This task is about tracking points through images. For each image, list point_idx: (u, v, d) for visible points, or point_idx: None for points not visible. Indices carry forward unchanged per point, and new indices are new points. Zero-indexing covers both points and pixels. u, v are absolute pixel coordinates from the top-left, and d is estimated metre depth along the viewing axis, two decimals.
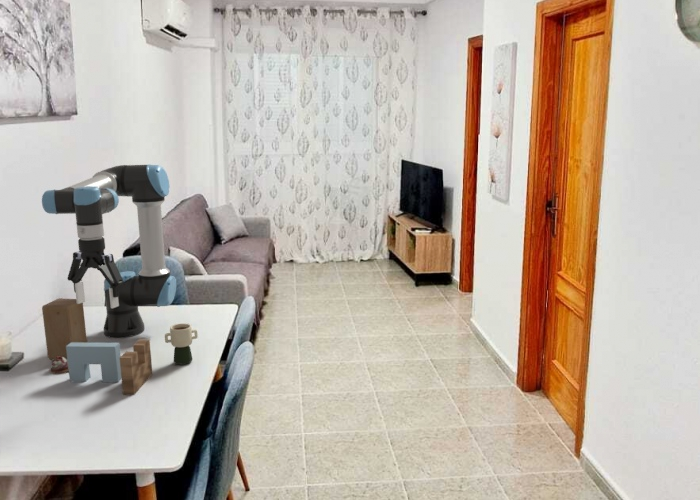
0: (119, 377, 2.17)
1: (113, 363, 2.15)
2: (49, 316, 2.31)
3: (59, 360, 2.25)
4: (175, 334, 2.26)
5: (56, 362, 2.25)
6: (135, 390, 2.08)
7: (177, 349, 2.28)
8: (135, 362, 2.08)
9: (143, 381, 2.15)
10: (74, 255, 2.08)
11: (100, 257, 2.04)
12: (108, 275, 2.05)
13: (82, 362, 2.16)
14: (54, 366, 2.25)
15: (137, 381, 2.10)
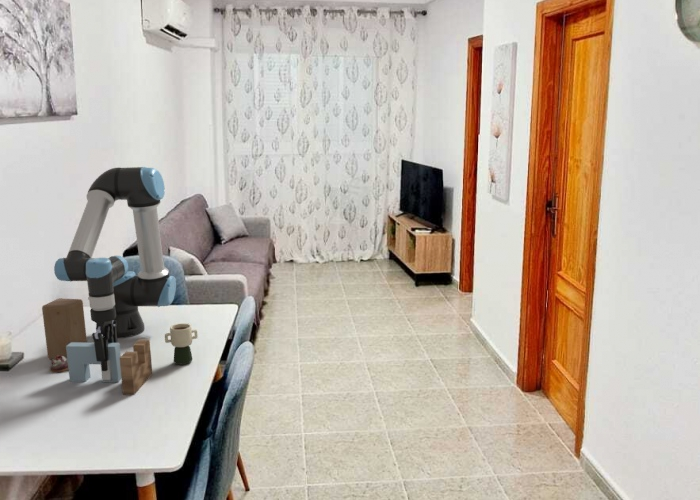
0: (119, 377, 2.17)
1: (113, 363, 2.15)
2: (49, 316, 2.31)
3: (59, 359, 2.26)
4: (175, 334, 2.26)
5: (56, 361, 2.26)
6: (135, 390, 2.08)
7: (177, 349, 2.28)
8: (135, 362, 2.08)
9: (143, 381, 2.15)
10: None
11: (96, 329, 2.11)
12: None
13: (82, 362, 2.16)
14: (54, 365, 2.26)
15: (137, 381, 2.10)
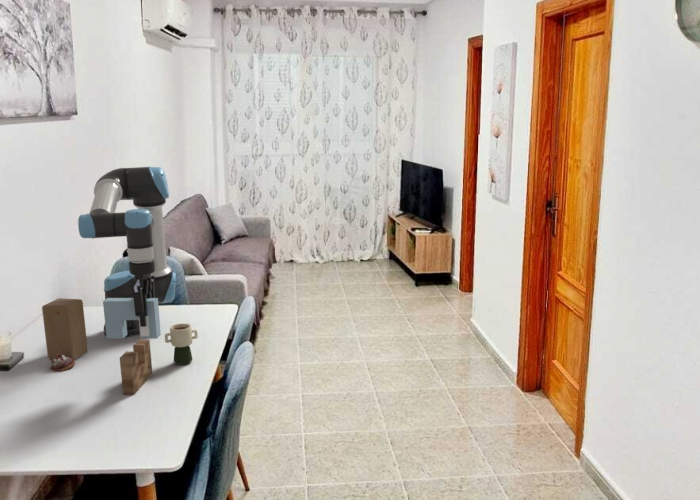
0: (157, 333, 2.10)
1: (152, 319, 2.08)
2: (49, 316, 2.31)
3: (59, 358, 2.27)
4: (175, 334, 2.26)
5: (56, 360, 2.27)
6: (135, 390, 2.08)
7: (177, 349, 2.28)
8: (135, 362, 2.08)
9: (143, 381, 2.15)
10: None
11: (135, 282, 2.03)
12: None
13: (119, 318, 2.08)
14: (54, 364, 2.27)
15: (137, 381, 2.10)
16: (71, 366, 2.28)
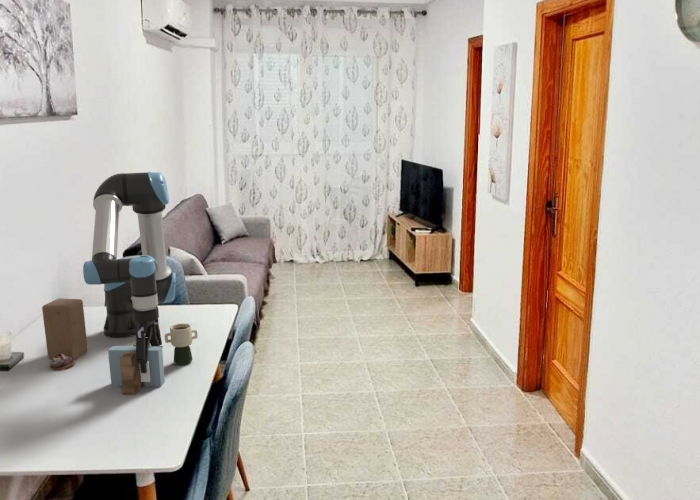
0: (162, 381, 2.13)
1: (156, 367, 2.11)
2: (50, 316, 2.31)
3: (58, 357, 2.28)
4: (175, 334, 2.26)
5: (55, 359, 2.28)
6: (135, 390, 2.08)
7: (177, 349, 2.28)
8: (135, 362, 2.08)
9: None
10: None
11: (139, 329, 2.06)
12: None
13: None
14: (53, 363, 2.28)
15: (137, 381, 2.10)
16: (71, 365, 2.29)
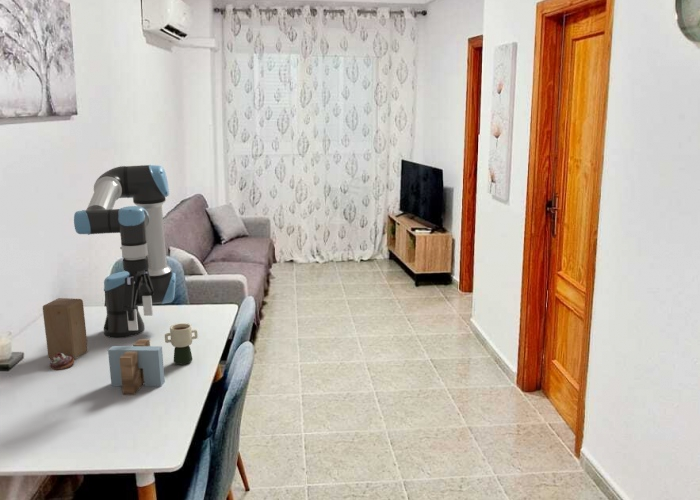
0: (162, 381, 2.13)
1: (156, 367, 2.11)
2: (50, 316, 2.32)
3: (58, 356, 2.28)
4: (175, 334, 2.26)
5: (55, 358, 2.28)
6: (135, 390, 2.08)
7: (177, 349, 2.28)
8: (135, 362, 2.08)
9: (143, 381, 2.15)
10: None
11: None
12: None
13: None
14: (53, 362, 2.28)
15: (137, 381, 2.10)
16: (70, 365, 2.29)
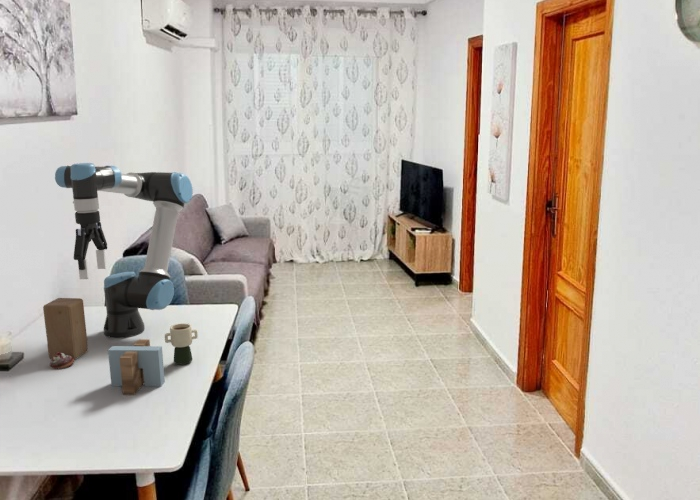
0: (162, 381, 2.13)
1: (156, 367, 2.11)
2: (51, 316, 2.32)
3: (58, 356, 2.29)
4: (175, 334, 2.26)
5: (55, 358, 2.29)
6: (135, 390, 2.08)
7: (177, 349, 2.28)
8: (135, 362, 2.08)
9: (143, 381, 2.15)
10: None
11: None
12: None
13: None
14: (53, 361, 2.29)
15: (137, 381, 2.10)
16: (70, 364, 2.30)
